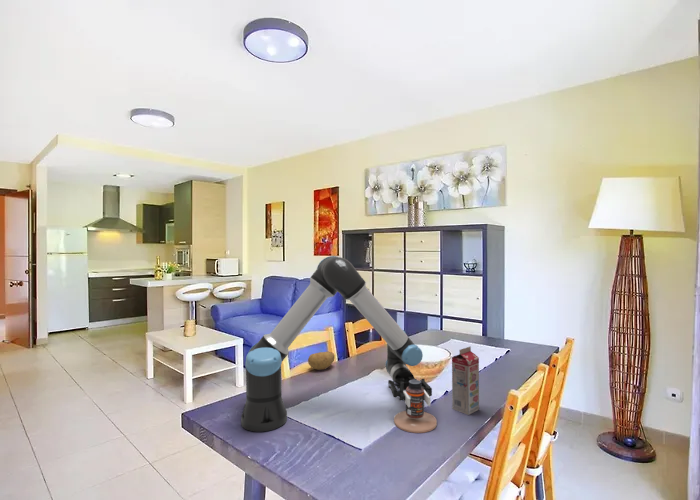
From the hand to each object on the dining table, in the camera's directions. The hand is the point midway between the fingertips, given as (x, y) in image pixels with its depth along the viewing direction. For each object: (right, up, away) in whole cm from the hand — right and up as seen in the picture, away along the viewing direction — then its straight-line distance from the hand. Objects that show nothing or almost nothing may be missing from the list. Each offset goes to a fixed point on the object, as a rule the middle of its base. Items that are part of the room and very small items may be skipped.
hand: (419, 402), depth 121 cm
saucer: (0, -9, +5) cm, 10 cm away
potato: (-35, -9, +61) cm, 71 cm away
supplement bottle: (0, -7, +5) cm, 8 cm away
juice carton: (+19, -9, +15) cm, 26 cm away
